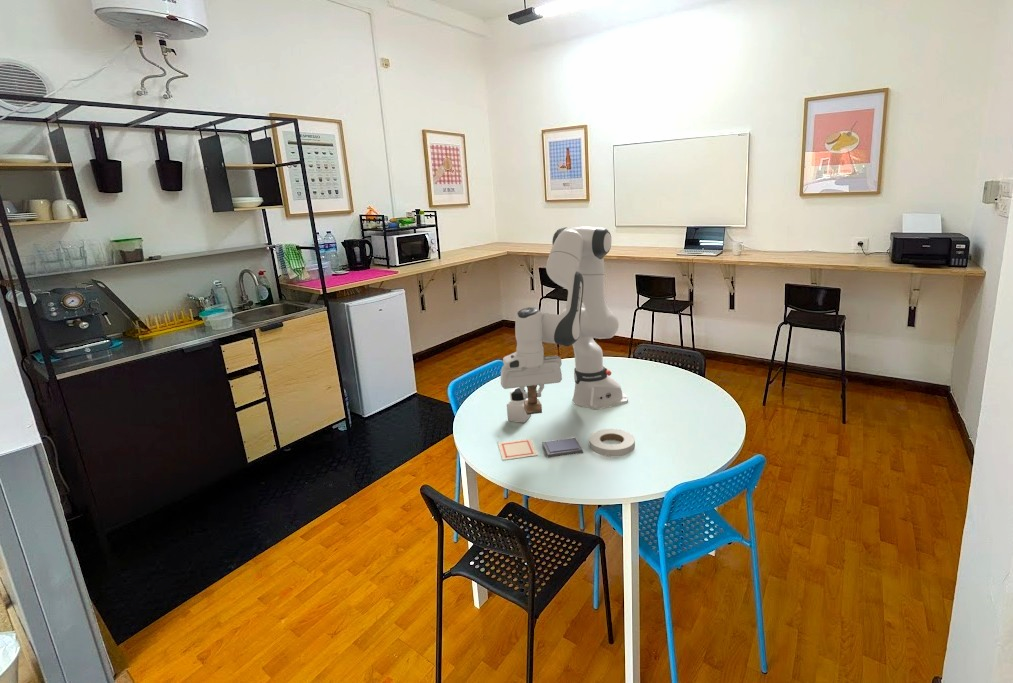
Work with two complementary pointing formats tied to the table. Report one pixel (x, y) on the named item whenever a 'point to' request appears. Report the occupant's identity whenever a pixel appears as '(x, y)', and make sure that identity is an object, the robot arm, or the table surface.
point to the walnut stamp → (532, 401)
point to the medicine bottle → (517, 407)
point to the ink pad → (562, 447)
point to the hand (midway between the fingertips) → (532, 397)
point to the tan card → (517, 449)
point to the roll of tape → (615, 449)
